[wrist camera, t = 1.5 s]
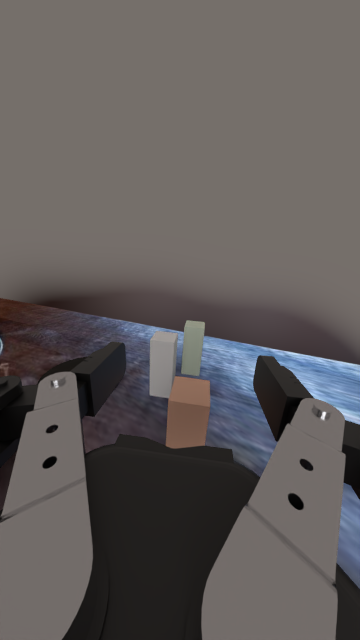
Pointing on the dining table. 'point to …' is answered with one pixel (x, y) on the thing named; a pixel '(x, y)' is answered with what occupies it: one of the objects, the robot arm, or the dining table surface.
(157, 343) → the light grey block
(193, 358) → the sage block
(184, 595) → the robot arm
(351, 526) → the dining table surface
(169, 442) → the terracotta block
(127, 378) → the dining table surface
